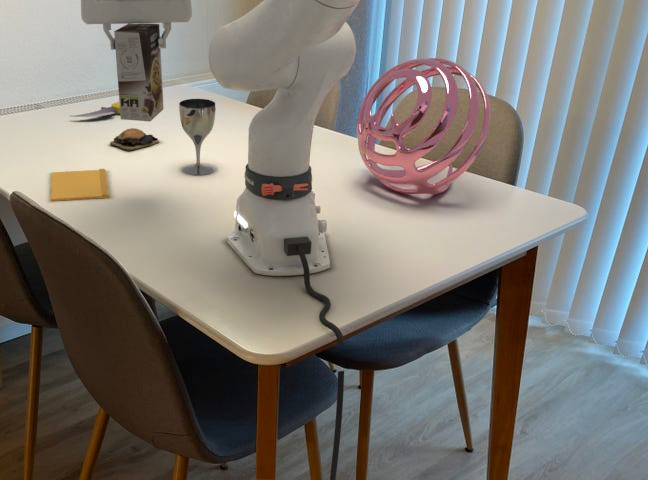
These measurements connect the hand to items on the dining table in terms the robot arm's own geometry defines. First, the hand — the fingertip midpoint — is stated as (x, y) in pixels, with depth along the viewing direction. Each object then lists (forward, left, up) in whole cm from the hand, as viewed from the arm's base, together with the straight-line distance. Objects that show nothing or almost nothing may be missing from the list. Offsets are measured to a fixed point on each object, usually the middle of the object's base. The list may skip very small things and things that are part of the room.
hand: (138, 48), depth 145 cm
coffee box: (0, 0, -12) cm, 13 cm away
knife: (+64, +4, -30) cm, 71 cm away
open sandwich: (+38, 0, -30) cm, 48 cm away
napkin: (+11, +14, -30) cm, 35 cm away
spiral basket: (-1, -57, -30) cm, 65 cm away
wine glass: (+17, -13, -30) cm, 37 cm away
